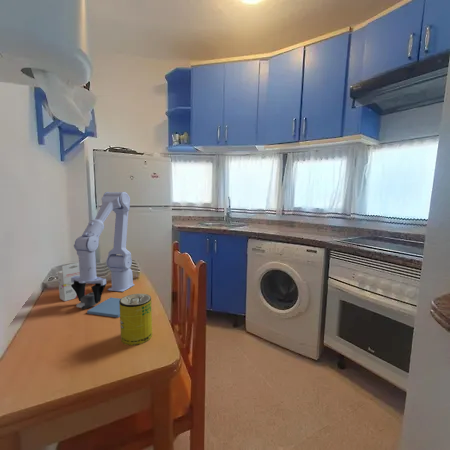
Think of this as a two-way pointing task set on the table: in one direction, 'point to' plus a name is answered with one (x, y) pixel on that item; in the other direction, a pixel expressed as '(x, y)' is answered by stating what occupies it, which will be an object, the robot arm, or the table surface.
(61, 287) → the ink cartridge box
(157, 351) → the table surface
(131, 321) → the beverage can
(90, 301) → the dark grey rounded block
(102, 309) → the blue-grey mat
